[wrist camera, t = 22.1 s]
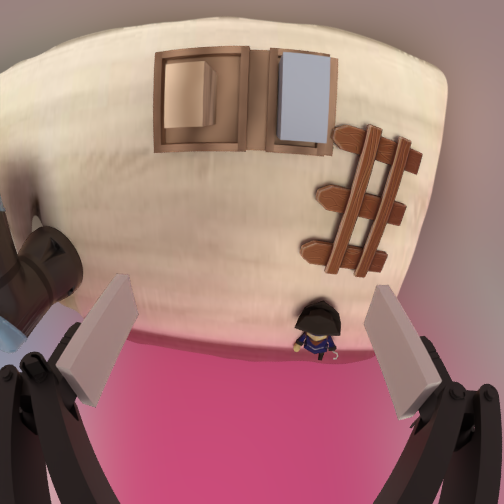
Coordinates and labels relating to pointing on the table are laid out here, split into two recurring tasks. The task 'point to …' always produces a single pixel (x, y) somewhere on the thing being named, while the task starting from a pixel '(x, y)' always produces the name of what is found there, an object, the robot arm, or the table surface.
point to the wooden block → (190, 95)
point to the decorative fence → (363, 200)
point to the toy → (318, 328)
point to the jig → (237, 103)
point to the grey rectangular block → (303, 97)
